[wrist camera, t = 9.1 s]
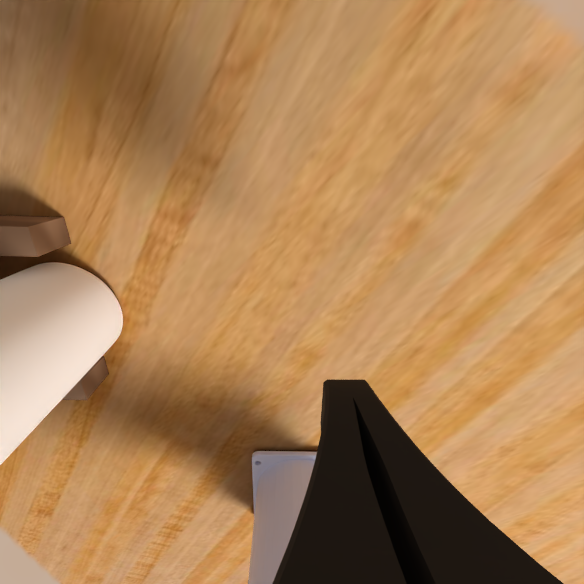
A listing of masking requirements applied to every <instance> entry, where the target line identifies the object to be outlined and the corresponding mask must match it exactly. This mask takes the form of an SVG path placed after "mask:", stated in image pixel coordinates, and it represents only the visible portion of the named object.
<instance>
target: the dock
mask: <svg viewBox="0 0 584 584" xmlns="http://www.w3.org/2000/svg"><path fill="white" fill-rule="evenodd" d="M69 244H71V241H70V237H69V234H68V230H67V227H66V223H65V220H64V217H39V216H2V215H0V256H26V257H39V256H41V255H44V254H46V253H49V252H51V251H54V250H56V249H59V248H61V247H64V246H66V245H69ZM108 374H109V373H108V370H107V366H106V363H105V359H104V357H101V358H100V359H99V360H98V361H97V362H96V363H95V364H94V365H93V367H92V368H91V369H90V370H89V371H88V372H87V373H86V374H85V375H84V376H83V377H82V378H81V379H80V381H79V382H78V383H77V384H76V385H75V386H74V387H73V388H72V389H71V390H70V391H69V392H68V393H67V394H66V396H65V397H64V398H63V399H62V400H87V399H88V398H89V397H90V396H91V395H92V393H93V392H94V391H95V390H96V389H97V387H98V386H99V385H100V384H101V383H102V381H103V380H104V379H105V378H106V376H107V375H108Z"/></svg>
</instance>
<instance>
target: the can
mask: <svg viewBox="0 0 584 584" xmlns="http://www.w3.org/2000/svg"><path fill="white" fill-rule="evenodd" d="M122 327H123V315H122V310H121V307H120V305H119V302H118V300H117V298H116V296H115V295H114V293H113V292H112V291H111V289H110V288H109V287H108V286H107V285H106V284H105V283H104V282H103V281H102V280H100V279H99V278H98V277H96V276H95V275H93V274H92V273H90V272H88V271H86V270H84V269H82V268H79V267H77V266H74V265H70V264H66V263H59V262H48V263H42V264H38V265H35V266H32V267H30V268H27V269H25V270H22V271H20V272H18V273H15V274H13V275H10V276H8V277H6V278H3V279H1V280H0V465H1V464H2V463H3V462H4V460H5V459H6V458H7V457H8V456H9V455H10V454H11V453H12V452H13V451H14V450H15V449H16V448H17V447H18V446H19V445H20V444H21V442H22V441H23V440H24V439H25V438H26V437H27V436H28V435H29V434H30V433H31V432H32V431H33V430H34V429H35V428H36V427H37V425H38V424H39V423H40V422H41V421H42V420H43V419H44V418H45V417H46V416H47V415H48V414H49V413H50V412H51V410H52V409H53V408H54V407H55V406H56V405H57V404H58V403H59V402H60V401H61V400H62V399H63V398H64V397H65V396H66V394H67V393H68V392H69V391H70V390H71V389H72V388H73V387H74V386H75V385H76V384H77V383H78V382H79V381H80V379H81V378H82V377H83V376H84V375H85V374H86V373H87V372H88V371H89V370H90V369H91V368H92V367H93V365H94V364H95V363H96V362H97V361H98V360H99V359H100V358H101V357H102V356H103V355H104V354H105V352H106V351H107V350H108V349H109V348H110V347H111V346H112V345H113V344H114V342H115V341H116V340H117V339H118V337H119V335H120V333H121V331H122Z"/></svg>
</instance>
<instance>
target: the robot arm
mask: <svg viewBox="0 0 584 584" xmlns="http://www.w3.org/2000/svg"><path fill="white" fill-rule="evenodd" d="M252 477H253V501H254V527H253V537H252V548H251V558H250V568H249V579H248V584H563V583H562V582H561V581H560V580H558V579H557V578H556V577H555V576H553V575H552V574H551V573H550V572H548V571H547V570H546V569H545V568H543V567H542V566H541V565H540V564H539V563H537V562H536V561H535V560H534V559H533V558H532V557H530V556H529V555H528V554H527V553H526V552H525V551H524V550H522V549H521V548H520V547H519V546H518V545H517V544H516V543H514V542H513V541H512V540H511V539H510V538H509V537H508V536H506V535H505V534H504V533H503V532H502V531H501V530H499V529H498V528H497V527H496V526H495V525H494V524H493V523H491V522H490V521H489V520H488V519H487V518H486V517H485V516H484V515H483V514H482V513H481V512H480V511H479V510H478V509H476V508H475V507H474V506H473V505H472V504H471V503H470V502H469V501H468V500H467V499H466V498H465V497H464V496H463V495H462V494H461V493H460V492H459V491H458V490H457V489H456V488H455V487H454V486H453V485H452V484H451V483H450V482H449V481H448V480H447V479H446V478H445V477H444V476H443V475H442V474H441V473H440V472H439V470H438V469H437V468H436V467H435V466H434V465H433V464H432V463H431V462H430V461H429V460H428V458H427V457H426V456H425V455H424V454H423V453H422V452H421V451H420V450H419V448H418V447H417V446H416V445H415V444H414V443H413V441H412V440H411V439H410V438H409V437H408V435H407V434H406V433H405V432H404V430H403V429H402V428H401V427H400V426H399V424H398V423H397V422H396V421H395V419H394V418H393V417H392V416H391V414H390V413H389V412H388V410H387V409H386V408H385V406H384V405H383V404H382V402H381V401H380V400H379V398H378V397H377V395H376V394H375V393H374V391H373V390H372V388H371V387H370V386H369V384H368V383H367V382H366V381H365V380H326V381H325V382H324V385H323V398H322V412H321V437H320V441H319V446H318V450H317V452H304V451H255V452H254V453H253V454H252Z"/></svg>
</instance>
